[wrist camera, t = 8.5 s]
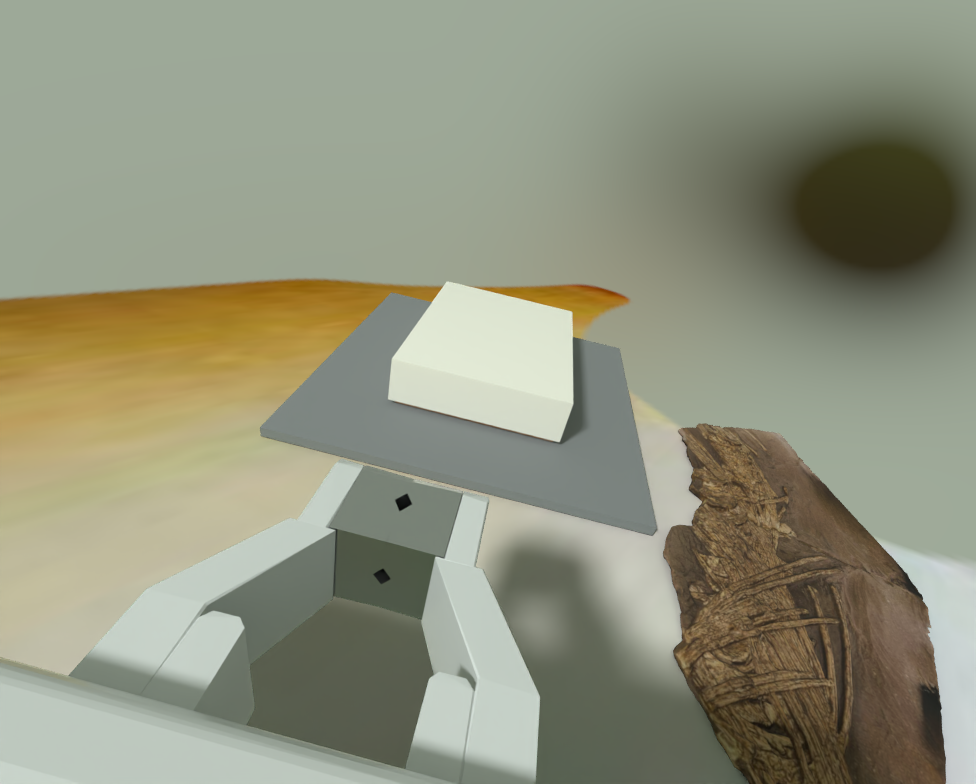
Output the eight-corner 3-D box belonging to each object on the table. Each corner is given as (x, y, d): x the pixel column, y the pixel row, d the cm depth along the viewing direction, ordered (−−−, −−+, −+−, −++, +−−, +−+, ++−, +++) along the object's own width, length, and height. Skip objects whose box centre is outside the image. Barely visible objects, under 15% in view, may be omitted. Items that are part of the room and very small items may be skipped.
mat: (617, 354, 36) (619, 348, 35) (652, 535, 20) (656, 528, 20) (390, 298, 36) (391, 292, 36) (260, 435, 21) (260, 427, 21)
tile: (557, 446, 24) (561, 345, 34) (573, 403, 22) (572, 311, 32) (387, 404, 24) (441, 316, 34) (391, 358, 22) (447, 281, 33)
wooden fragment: (681, 405, 32) (687, 392, 31) (857, 472, 29) (868, 459, 28) (607, 916, 11) (623, 906, 10) (1211, 1322, 8) (1278, 1339, 8)
